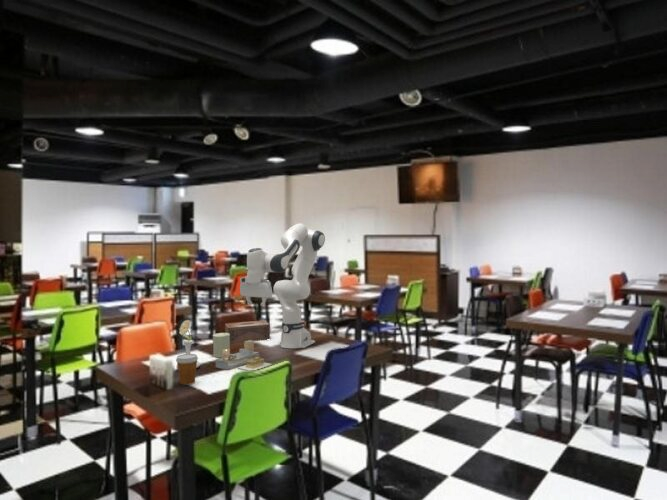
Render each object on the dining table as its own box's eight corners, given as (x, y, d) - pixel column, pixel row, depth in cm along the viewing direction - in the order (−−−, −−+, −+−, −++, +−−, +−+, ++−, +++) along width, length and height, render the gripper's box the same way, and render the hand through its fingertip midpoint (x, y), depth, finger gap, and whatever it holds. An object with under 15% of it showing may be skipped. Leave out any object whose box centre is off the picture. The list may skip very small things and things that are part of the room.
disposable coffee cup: (179, 379, 214) (178, 353, 214) (200, 378, 215) (199, 353, 215) (174, 386, 205) (173, 359, 204) (196, 385, 206) (195, 358, 205)
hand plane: (247, 357, 251) (246, 339, 251) (259, 359, 246) (259, 341, 246) (215, 367, 233) (215, 347, 233) (228, 370, 228) (227, 350, 228)
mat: (257, 362, 242) (257, 361, 242) (271, 365, 236) (271, 363, 236) (237, 368, 230) (237, 367, 230) (252, 372, 224) (252, 370, 224)
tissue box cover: (228, 343, 285) (228, 327, 284) (225, 339, 298) (225, 323, 298) (269, 340, 293) (269, 324, 293) (265, 335, 307) (264, 320, 307)
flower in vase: (175, 367, 235) (174, 317, 234) (198, 364, 239) (197, 316, 239) (177, 374, 223) (176, 322, 222) (202, 371, 227) (201, 320, 227)
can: (225, 357, 251) (225, 335, 251) (210, 357, 253) (209, 335, 253) (233, 353, 260) (232, 332, 260) (217, 352, 262) (217, 331, 262)
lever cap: (256, 363, 238) (256, 355, 237) (264, 364, 235) (264, 357, 235) (245, 367, 231) (245, 359, 231) (252, 368, 228) (252, 360, 228)
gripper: (274, 279, 241) (275, 306, 241) (246, 277, 252) (246, 303, 253) (266, 280, 236) (266, 307, 236) (237, 278, 247) (238, 304, 248)
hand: (256, 305), depth 245 cm, fingers open, 8 cm apart
